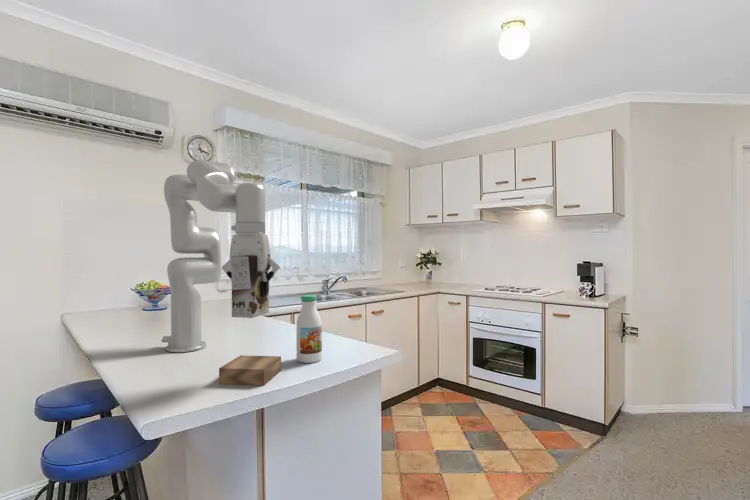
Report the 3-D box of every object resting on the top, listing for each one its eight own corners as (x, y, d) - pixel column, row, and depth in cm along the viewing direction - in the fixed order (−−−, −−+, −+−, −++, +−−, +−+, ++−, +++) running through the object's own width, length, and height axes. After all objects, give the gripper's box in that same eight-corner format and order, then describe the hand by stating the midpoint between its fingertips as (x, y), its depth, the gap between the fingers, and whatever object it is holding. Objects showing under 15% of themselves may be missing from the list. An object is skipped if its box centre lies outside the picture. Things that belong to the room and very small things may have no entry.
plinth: (219, 383, 99) (219, 368, 99) (240, 369, 111) (240, 355, 111) (264, 385, 98) (264, 369, 98) (281, 370, 110) (281, 356, 110)
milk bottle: (291, 362, 118) (291, 296, 118) (304, 355, 125) (304, 293, 125) (314, 364, 115) (313, 297, 115) (326, 357, 122) (325, 294, 122)
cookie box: (253, 318, 99) (253, 255, 99) (230, 317, 100) (230, 255, 100) (270, 312, 108) (269, 254, 108) (249, 312, 109) (248, 254, 109)
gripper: (212, 229, 102) (213, 297, 102) (276, 228, 100) (277, 298, 100) (226, 230, 109) (227, 294, 109) (286, 230, 107) (287, 294, 107)
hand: (251, 295), depth 104 cm, fingers closed on cookie box, 6 cm apart
